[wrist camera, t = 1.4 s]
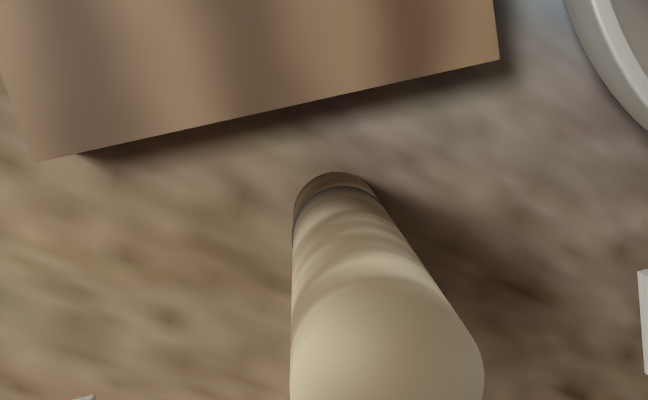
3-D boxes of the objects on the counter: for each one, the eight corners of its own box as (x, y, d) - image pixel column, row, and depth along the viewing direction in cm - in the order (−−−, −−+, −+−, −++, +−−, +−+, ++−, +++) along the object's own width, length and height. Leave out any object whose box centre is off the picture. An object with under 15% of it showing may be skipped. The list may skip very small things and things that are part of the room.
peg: (370, 162, 25) (472, 274, 11) (386, 244, 26) (498, 449, 12) (283, 181, 25) (265, 320, 11) (303, 263, 26) (311, 491, 12)
